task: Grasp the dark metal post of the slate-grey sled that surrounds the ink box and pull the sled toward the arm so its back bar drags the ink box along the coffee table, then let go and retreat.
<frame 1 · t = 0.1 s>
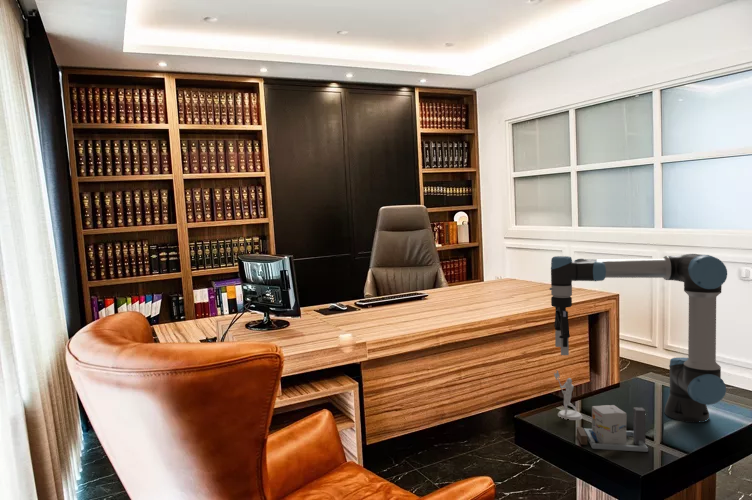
hand: (561, 350, 199), 28 cm above the table, fingers open, 13 cm apart
lane end block: (581, 439, 183), on the table
figurine: (569, 416, 206), on the table
ink box: (608, 442, 181), resting in sled
sled: (608, 441, 181), on the table, slide at 0.0 cm
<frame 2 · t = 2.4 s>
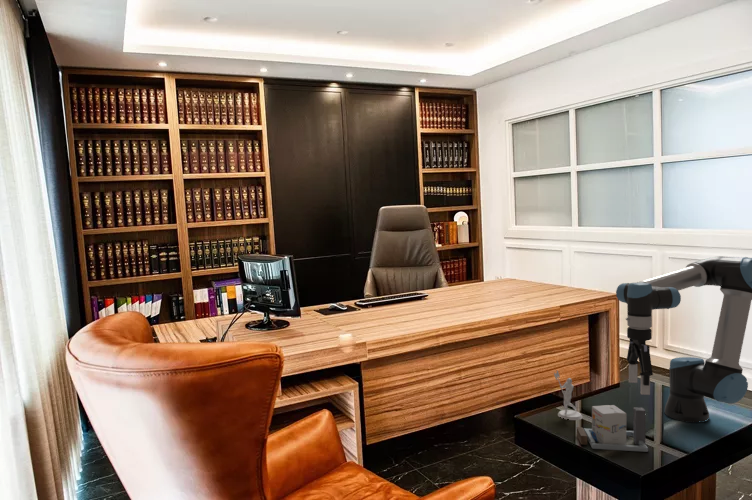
hand: (638, 388, 178), 19 cm above the table, fingers open, 13 cm apart
nothing on the table moved.
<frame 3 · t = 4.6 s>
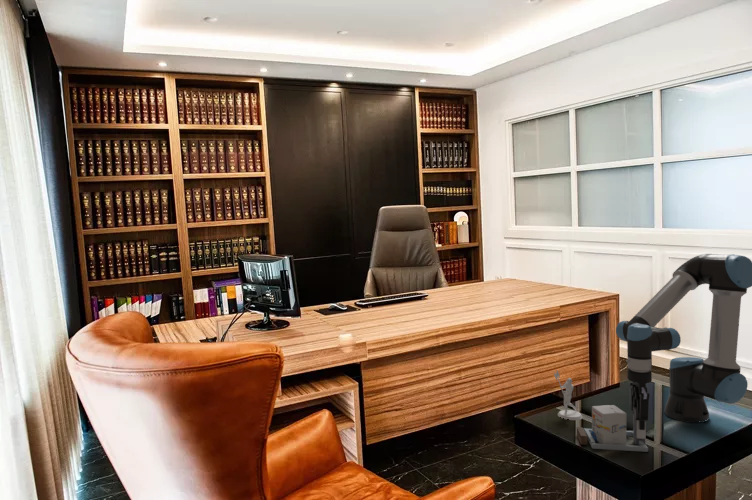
hand: (639, 435, 179), 3 cm above the table, fingers closed on sled, 3 cm apart
sled: (608, 441, 181), on the table, slide at 0.0 cm, touching gripper
everything else where it was.
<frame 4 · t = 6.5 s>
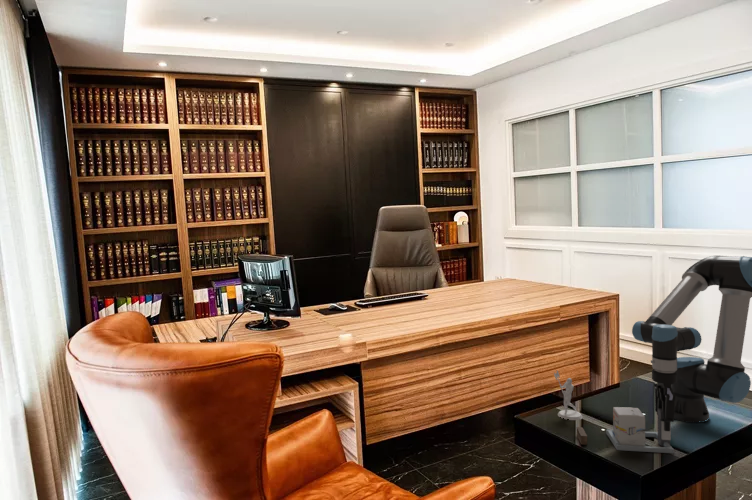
hand: (664, 437, 178), 3 cm above the table, fingers closed on sled, 3 cm apart
ink box: (628, 444, 179), resting in sled
sled: (632, 442, 180), on the table, slide at 7.8 cm, touching gripper
everything else where it was.
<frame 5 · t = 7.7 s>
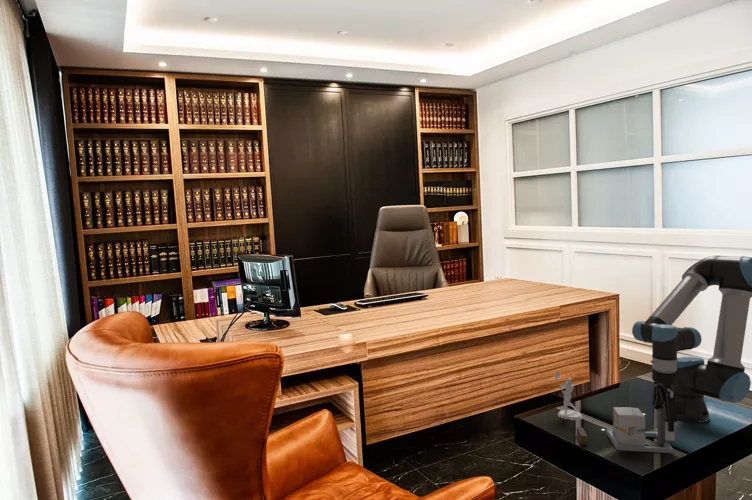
hand: (664, 433, 177), 4 cm above the table, fingers open, 10 cm apart
sled: (632, 442, 180), on the table, slide at 7.9 cm
everything else where it was.
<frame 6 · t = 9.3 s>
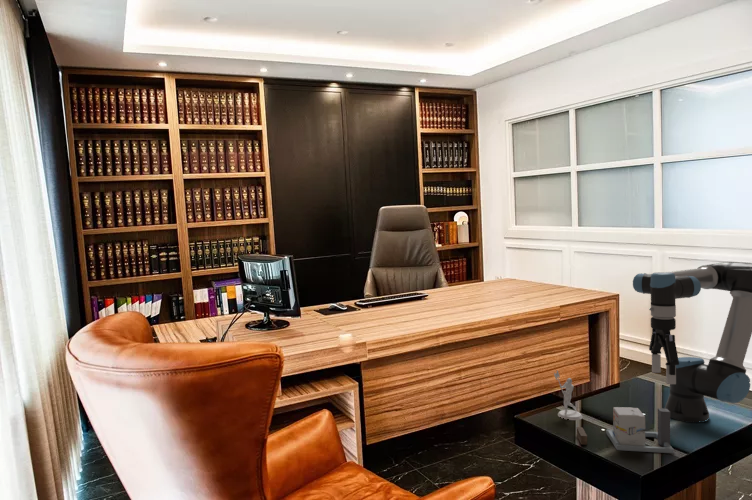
hand: (663, 378, 178), 23 cm above the table, fingers open, 13 cm apart
nothing on the table moved.
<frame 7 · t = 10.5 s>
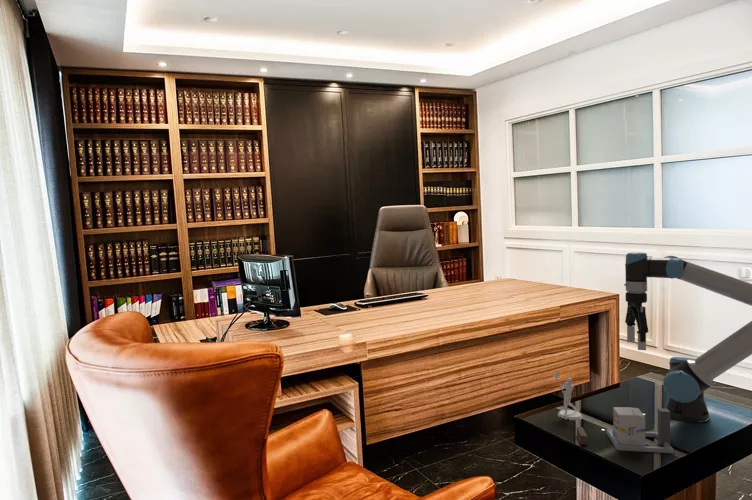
hand: (636, 346, 201), 29 cm above the table, fingers open, 13 cm apart
nothing on the table moved.
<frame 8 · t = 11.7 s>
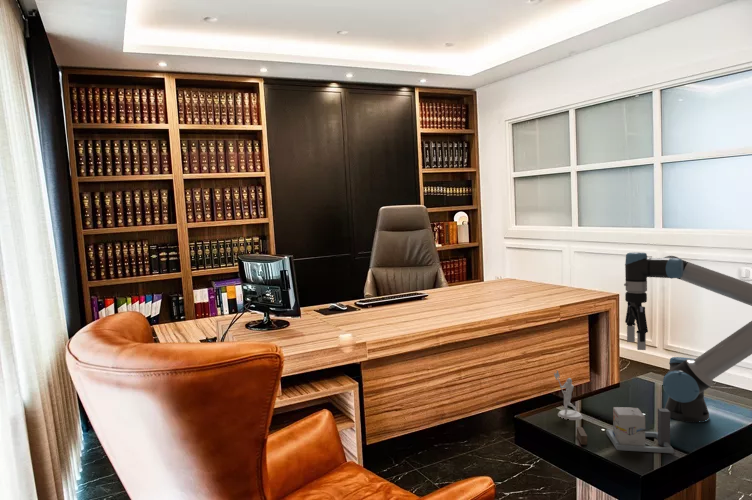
hand: (636, 345, 201), 29 cm above the table, fingers open, 13 cm apart
nothing on the table moved.
at the end: sled slide at 7.9 cm; ink box inside the target area (1.3 cm from its centre), resting in sled; ink box tilted 0° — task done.
